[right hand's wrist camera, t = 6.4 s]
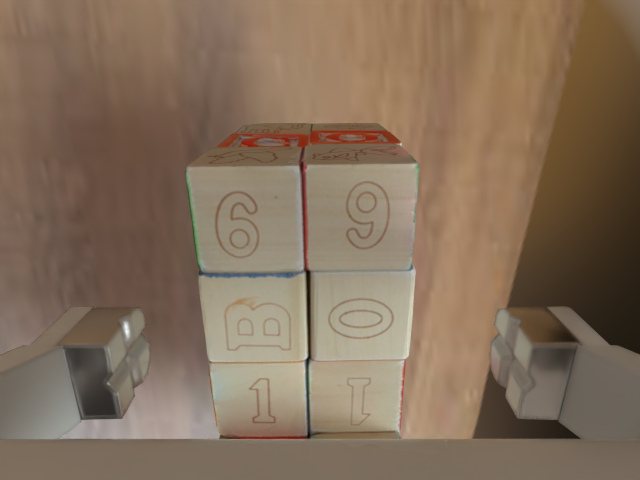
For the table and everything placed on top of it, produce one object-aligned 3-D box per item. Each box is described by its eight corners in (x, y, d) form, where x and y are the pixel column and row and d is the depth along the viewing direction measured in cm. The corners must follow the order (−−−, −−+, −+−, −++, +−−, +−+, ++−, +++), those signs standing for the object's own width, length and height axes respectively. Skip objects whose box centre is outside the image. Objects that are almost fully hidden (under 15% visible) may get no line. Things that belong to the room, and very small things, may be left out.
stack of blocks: (240, 121, 20) (138, 192, 8) (379, 120, 20) (467, 189, 8) (264, 474, 28) (227, 764, 16) (364, 473, 28) (399, 761, 16)
